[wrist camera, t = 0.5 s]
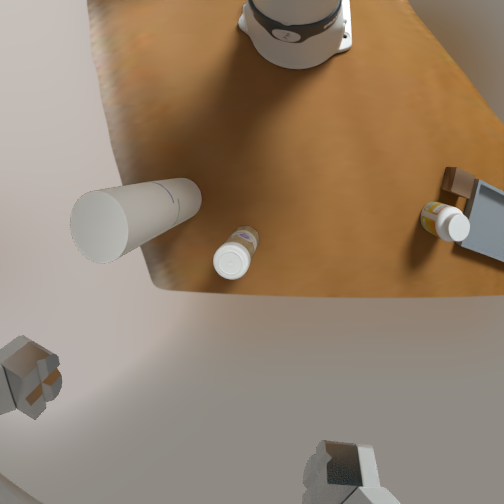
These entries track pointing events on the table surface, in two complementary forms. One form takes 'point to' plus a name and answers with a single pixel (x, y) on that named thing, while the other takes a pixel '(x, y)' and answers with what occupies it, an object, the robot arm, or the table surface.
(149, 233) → the cylindrical container
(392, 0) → the table surface
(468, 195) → the walnut block
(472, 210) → the tray
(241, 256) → the sprinkles bottle
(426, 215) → the supplement bottle
